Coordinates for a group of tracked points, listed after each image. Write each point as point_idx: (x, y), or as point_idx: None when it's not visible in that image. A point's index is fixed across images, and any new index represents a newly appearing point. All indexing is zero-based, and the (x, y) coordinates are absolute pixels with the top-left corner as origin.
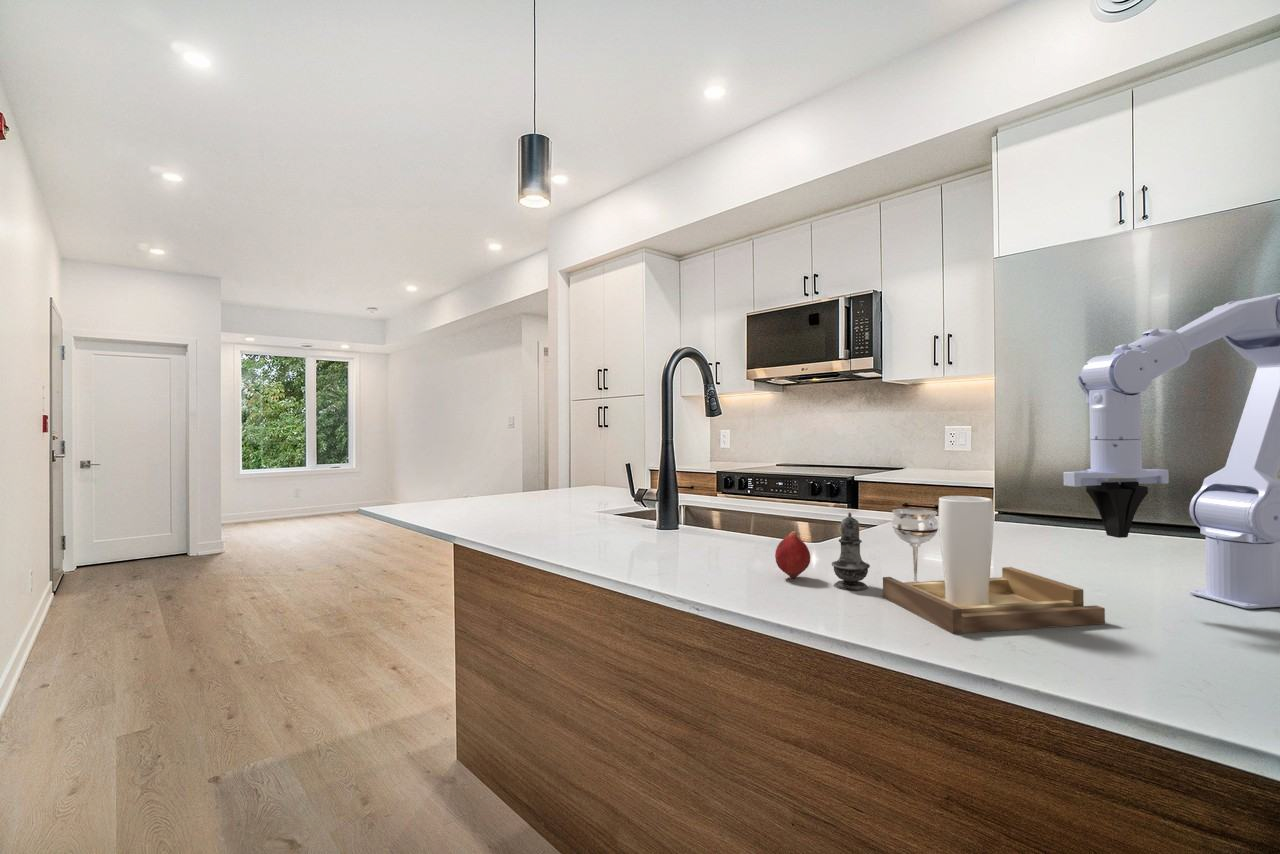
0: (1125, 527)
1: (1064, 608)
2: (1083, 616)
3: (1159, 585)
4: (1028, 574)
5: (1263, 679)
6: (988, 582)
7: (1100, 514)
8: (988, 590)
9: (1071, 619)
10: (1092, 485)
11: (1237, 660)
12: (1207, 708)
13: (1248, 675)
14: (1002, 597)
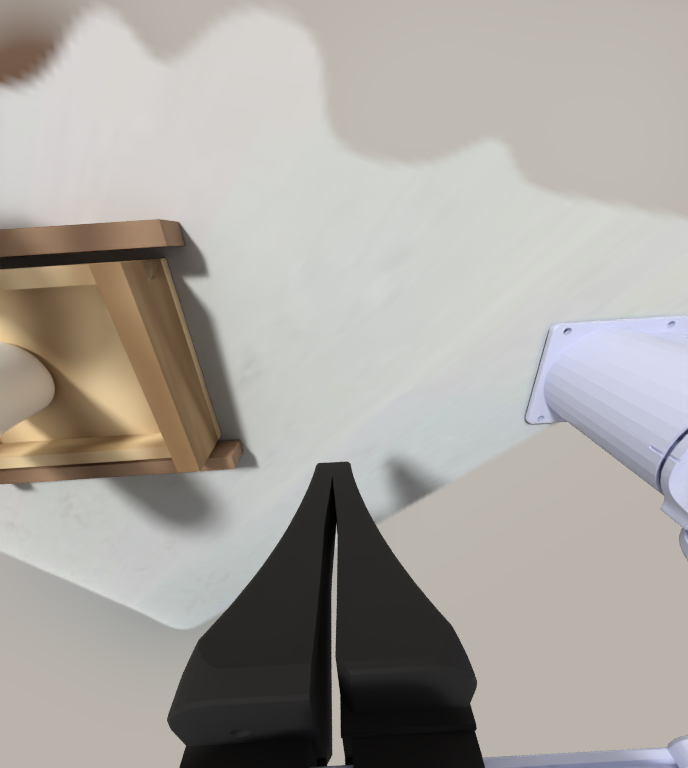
0: (337, 532)
1: (166, 465)
2: None
3: (588, 235)
4: (137, 355)
5: None
6: (2, 434)
7: (292, 521)
8: (22, 419)
9: None
10: (187, 739)
11: None
12: (188, 603)
13: None
14: (111, 326)
